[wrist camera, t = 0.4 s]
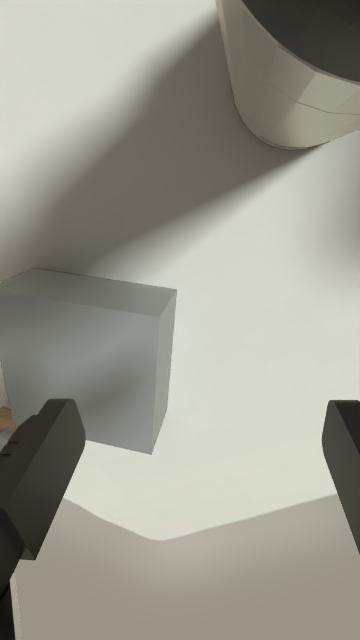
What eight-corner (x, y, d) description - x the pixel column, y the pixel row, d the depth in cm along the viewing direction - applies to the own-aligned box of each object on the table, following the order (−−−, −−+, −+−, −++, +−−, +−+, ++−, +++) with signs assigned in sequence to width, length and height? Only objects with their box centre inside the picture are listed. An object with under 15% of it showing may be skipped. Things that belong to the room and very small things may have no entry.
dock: (27, 267, 29) (-22, 287, 24) (176, 289, 27) (159, 317, 22) (43, 384, 36) (7, 421, 30) (166, 410, 34) (151, 454, 28)
